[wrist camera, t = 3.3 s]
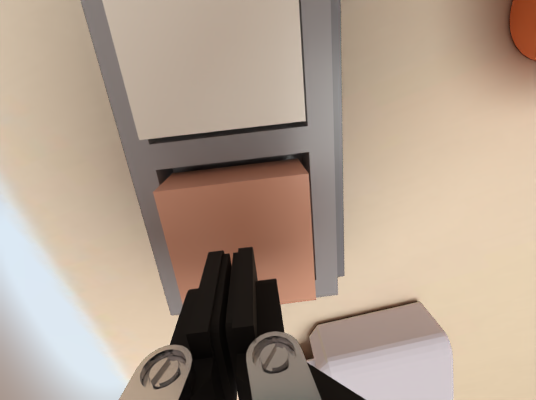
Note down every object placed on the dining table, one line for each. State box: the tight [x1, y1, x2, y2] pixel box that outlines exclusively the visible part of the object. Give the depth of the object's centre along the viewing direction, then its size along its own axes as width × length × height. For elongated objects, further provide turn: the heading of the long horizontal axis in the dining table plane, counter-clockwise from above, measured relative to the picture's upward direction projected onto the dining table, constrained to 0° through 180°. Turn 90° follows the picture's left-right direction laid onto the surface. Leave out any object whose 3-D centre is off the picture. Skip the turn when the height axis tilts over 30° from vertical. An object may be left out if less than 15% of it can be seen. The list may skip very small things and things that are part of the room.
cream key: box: [102, 0, 306, 140], centre depth 11 cm, size 6×6×3 cm
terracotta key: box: [153, 159, 316, 304], centre depth 14 cm, size 6×6×3 cm
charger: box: [306, 302, 453, 400], centre depth 24 cm, size 5×9×15 cm
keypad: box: [81, 0, 344, 315], centre depth 14 cm, size 28×12×6 cm, turn 6°
